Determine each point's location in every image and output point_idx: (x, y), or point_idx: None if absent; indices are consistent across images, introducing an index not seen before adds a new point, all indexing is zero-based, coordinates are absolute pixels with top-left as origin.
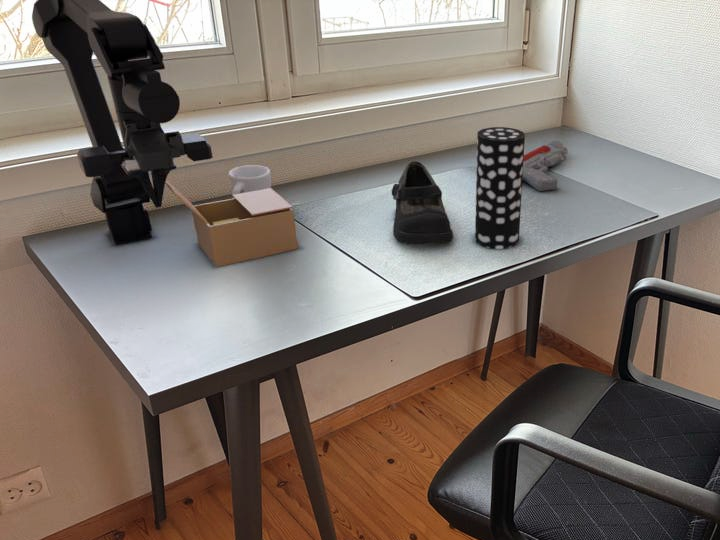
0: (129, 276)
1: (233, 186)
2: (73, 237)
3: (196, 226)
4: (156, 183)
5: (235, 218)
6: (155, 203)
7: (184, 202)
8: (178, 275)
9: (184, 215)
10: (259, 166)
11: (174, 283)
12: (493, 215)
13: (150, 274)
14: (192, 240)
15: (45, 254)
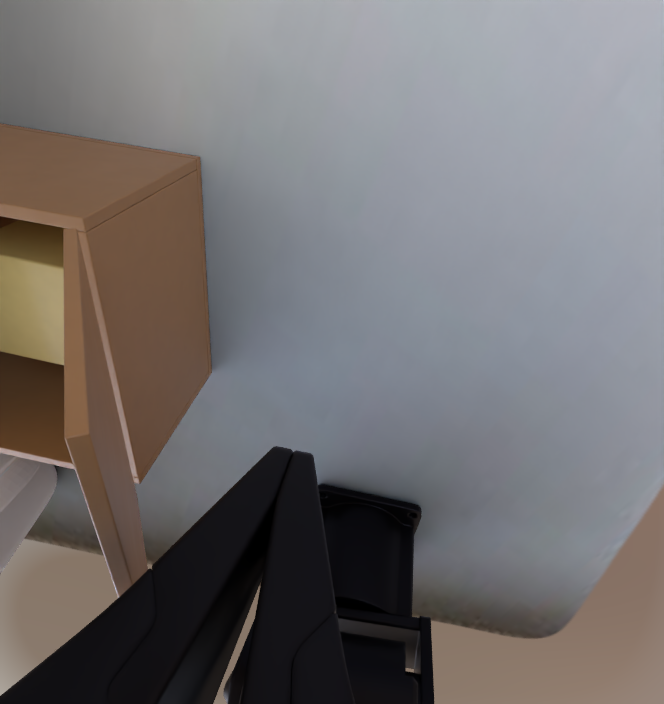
0: (512, 305)
1: (1, 536)
2: (479, 589)
3: (175, 404)
4: (190, 655)
5: (6, 347)
6: (305, 476)
7: (75, 347)
8: (360, 187)
9: None
10: None
11: (410, 116)
12: None
13: (443, 271)
14: (221, 408)
15: (593, 566)
